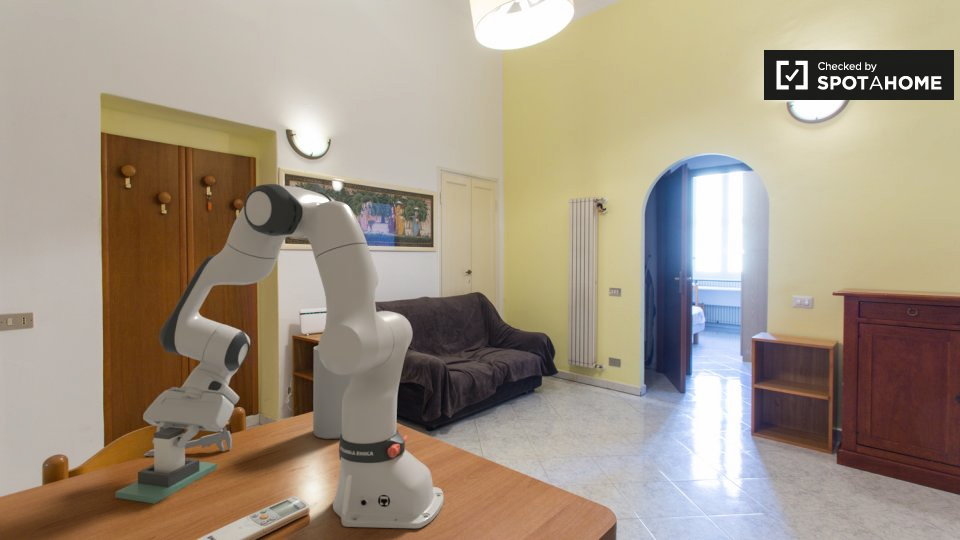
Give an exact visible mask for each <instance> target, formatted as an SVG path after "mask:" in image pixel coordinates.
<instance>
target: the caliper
mask: <svg viewBox="0 0 960 540" xmlns="http://www.w3.org/2000/svg"><path fill="white" fill-rule="evenodd" d="M232 439H233V438H232V434H231V432H230V430H227V427H226V426H225V427H224V428H223V429H221V430H220V431H219V432H216V433H212V434H208V435H204V436H201V437H200V438H197V439H193V440H189V441H187V443H186V445H185V450H186V449H190V448H195V447H198V446H199V447H200V446H201V448H202V449H203V448H207V447H210V446H212V445H214V444H215V446H216V447H217V448H218V450H219V451H220V452H224V451H225V446H224V443H223V441H224V440H225V445H226V448H227V451H228V452H229V451H230V450H231V449H232V447H233V446H232V445H233V444H232V443H233V440H232ZM147 456H148V457H154V448H153V449H150V450H149V451H147V452H146V453H145V454H143V455H142V457H147Z"/></svg>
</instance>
